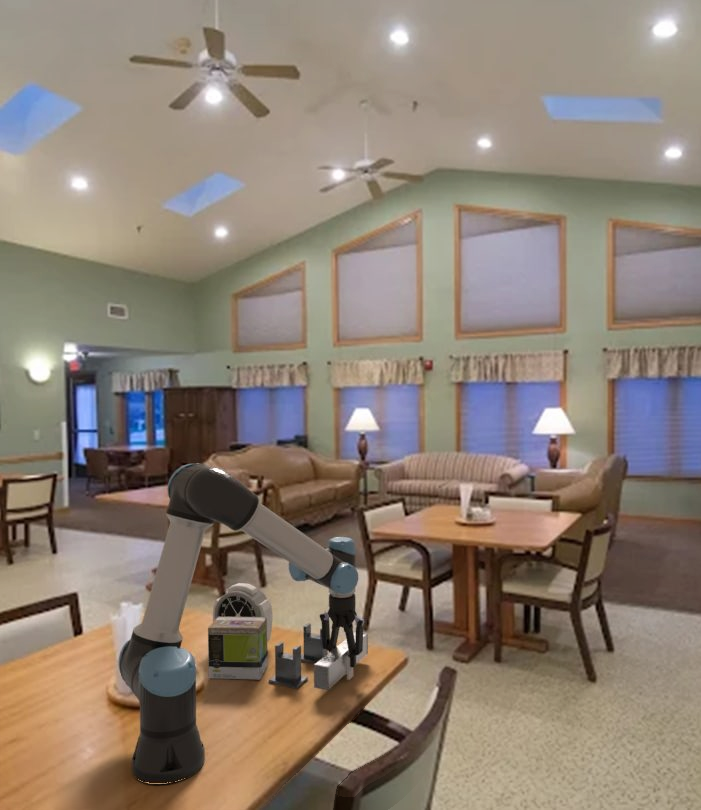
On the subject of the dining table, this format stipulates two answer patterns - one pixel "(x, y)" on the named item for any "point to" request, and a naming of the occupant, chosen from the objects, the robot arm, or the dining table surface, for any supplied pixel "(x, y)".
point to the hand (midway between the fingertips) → (342, 676)
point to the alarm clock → (244, 604)
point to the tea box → (237, 648)
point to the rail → (335, 664)
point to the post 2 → (312, 646)
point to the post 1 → (288, 667)
